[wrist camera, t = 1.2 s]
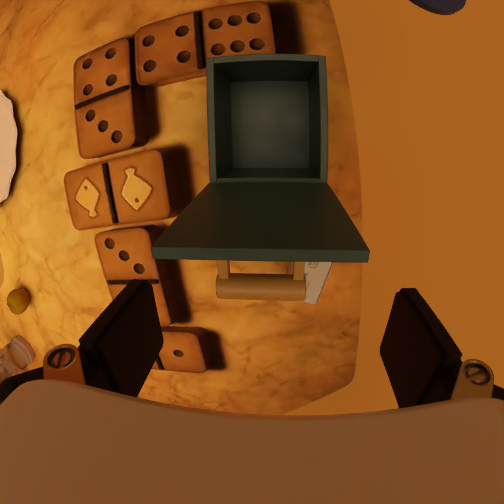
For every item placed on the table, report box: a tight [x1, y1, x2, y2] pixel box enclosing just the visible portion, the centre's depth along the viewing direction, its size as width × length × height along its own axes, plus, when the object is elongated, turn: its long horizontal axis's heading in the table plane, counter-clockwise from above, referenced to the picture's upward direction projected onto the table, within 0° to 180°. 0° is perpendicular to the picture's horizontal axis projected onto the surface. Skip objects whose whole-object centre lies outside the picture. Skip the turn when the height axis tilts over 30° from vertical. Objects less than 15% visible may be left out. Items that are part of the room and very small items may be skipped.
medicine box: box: [287, 262, 332, 305], centre depth 41 cm, size 8×4×9 cm, turn 167°
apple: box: [7, 288, 30, 314], centre depth 52 cm, size 6×6×8 cm
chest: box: [207, 54, 328, 183], centre depth 32 cm, size 15×13×12 cm
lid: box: [151, 182, 370, 301], centre depth 23 cm, size 15×13×5 cm
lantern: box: [0, 336, 35, 384], centre depth 54 cm, size 13×10×25 cm
